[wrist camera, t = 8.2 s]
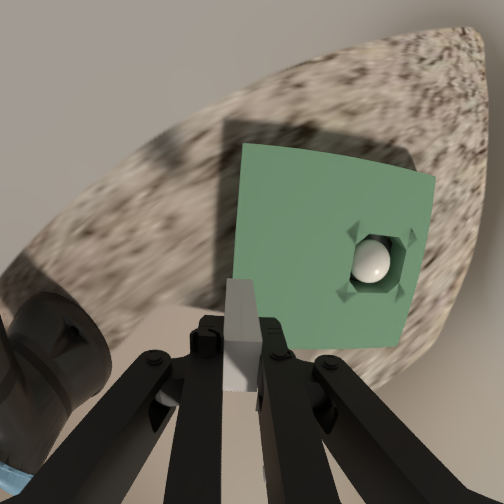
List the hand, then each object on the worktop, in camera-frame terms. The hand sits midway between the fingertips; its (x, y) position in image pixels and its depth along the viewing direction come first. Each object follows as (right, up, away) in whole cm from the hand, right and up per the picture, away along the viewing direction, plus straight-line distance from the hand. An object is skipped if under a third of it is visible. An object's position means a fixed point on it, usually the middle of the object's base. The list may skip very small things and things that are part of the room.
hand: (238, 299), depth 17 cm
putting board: (+8, +3, +10) cm, 13 cm away
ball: (+12, +2, +8) cm, 14 cm away
